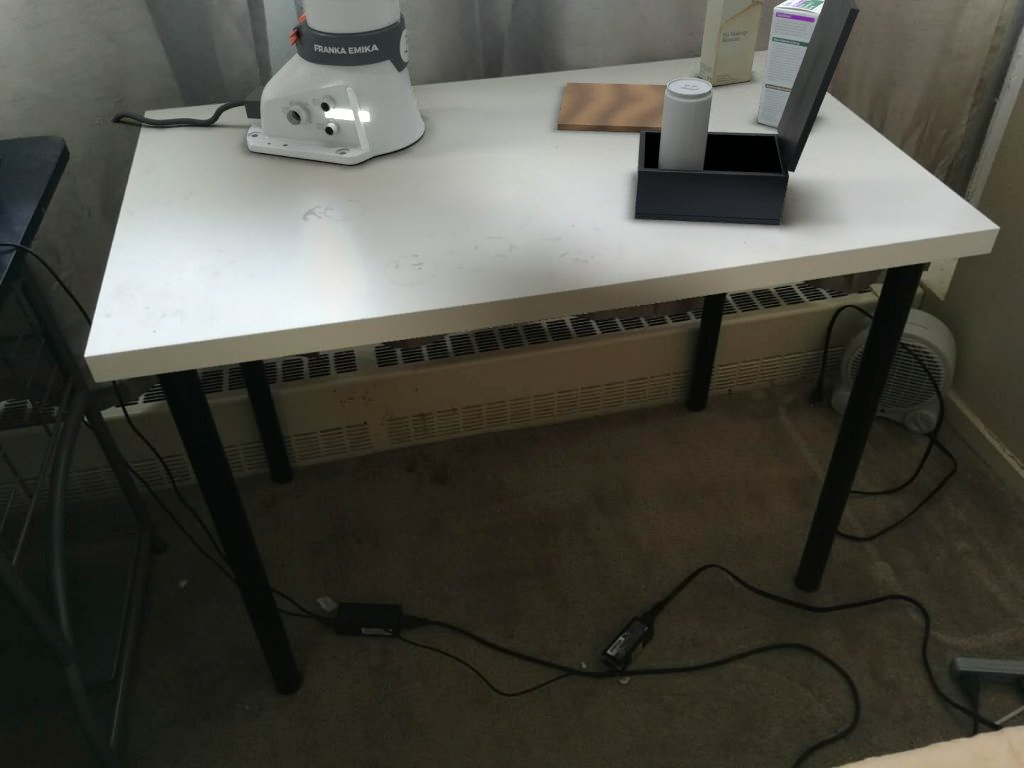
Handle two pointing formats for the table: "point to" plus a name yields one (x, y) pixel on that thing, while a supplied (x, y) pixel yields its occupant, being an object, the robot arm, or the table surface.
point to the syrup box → (785, 54)
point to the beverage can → (685, 124)
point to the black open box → (715, 181)
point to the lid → (815, 77)
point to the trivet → (612, 107)
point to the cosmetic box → (729, 40)
